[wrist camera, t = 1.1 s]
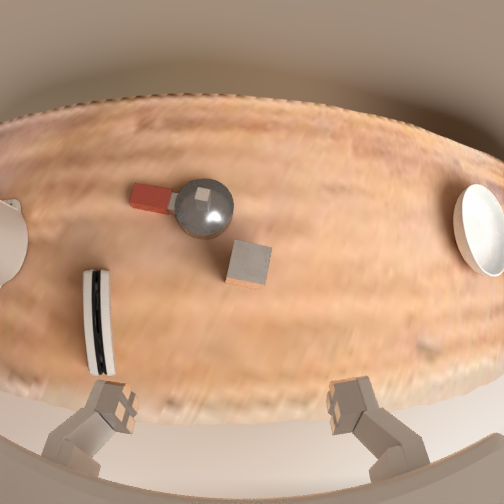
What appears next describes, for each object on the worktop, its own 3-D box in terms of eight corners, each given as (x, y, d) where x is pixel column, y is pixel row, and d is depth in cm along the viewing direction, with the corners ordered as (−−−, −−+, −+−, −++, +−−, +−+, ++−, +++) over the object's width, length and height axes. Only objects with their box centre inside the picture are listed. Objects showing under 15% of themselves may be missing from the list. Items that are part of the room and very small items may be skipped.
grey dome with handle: (128, 223, 44) (113, 208, 36) (144, 174, 45) (133, 153, 38) (225, 244, 45) (227, 232, 38) (237, 192, 47) (241, 172, 39)
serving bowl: (470, 298, 49) (492, 296, 42) (428, 221, 51) (449, 212, 44) (499, 246, 53) (517, 241, 47) (463, 179, 55) (480, 169, 48)
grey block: (225, 283, 44) (226, 277, 35) (231, 252, 45) (234, 239, 36) (255, 289, 44) (265, 284, 35) (261, 259, 45) (272, 247, 36)
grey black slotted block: (83, 270, 41) (75, 260, 32) (110, 271, 43) (108, 261, 35) (89, 370, 38) (83, 385, 29) (116, 370, 40) (116, 385, 32)
